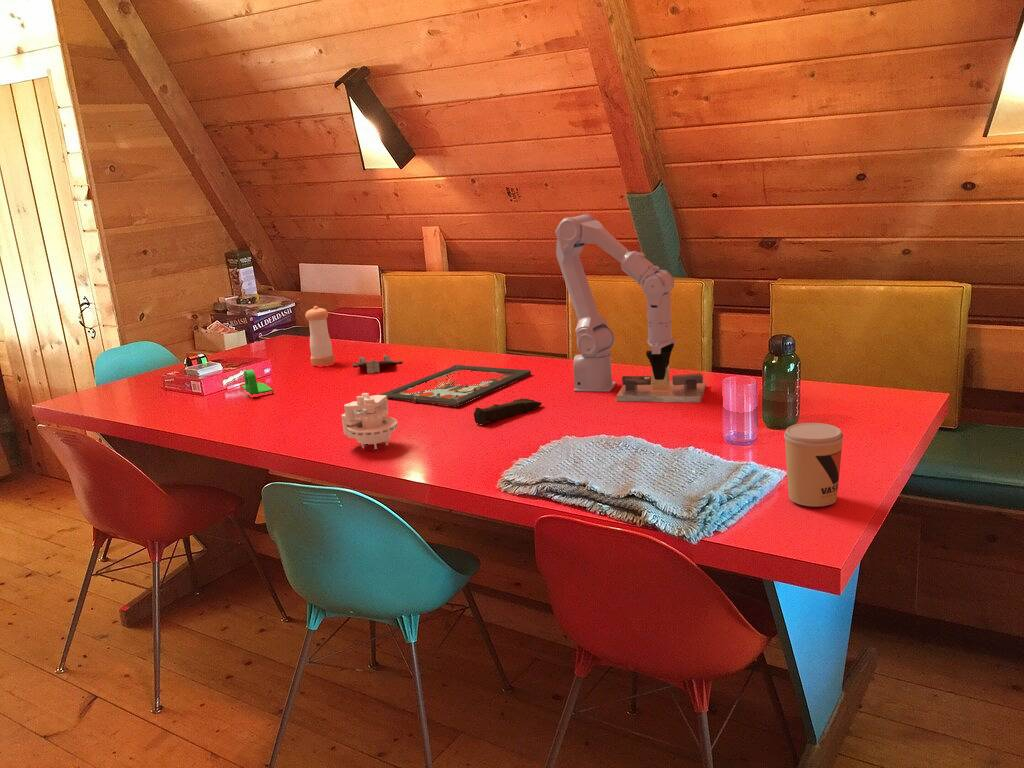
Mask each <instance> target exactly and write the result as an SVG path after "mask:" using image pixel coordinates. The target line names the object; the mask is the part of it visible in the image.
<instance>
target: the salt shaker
mask: <svg viewBox="0 0 1024 768" xmlns="http://www.w3.org/2000/svg"><path fill="white" fill-rule="evenodd" d="M304 316H305V319H306V320H307V321H308V325H309V334H310V335H309V347H310V348H309V349H310V355H311V356H310V363H311V364H312V365H329V364H332V363H334V362H335V363H336V361H335V360H336V359H335V354H334V353H333V346H332V341H331V336H330V334H329V330H328V329H329V327H328V321H327V319H328V317H329V312H328V310H327V309H326V308H322V307H319V306H318V305H314V306H313V308H311V309H308V310H306V312H305V315H304ZM312 365H311V366H312Z"/></svg>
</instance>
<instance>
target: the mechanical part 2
mask: <svg viewBox="0 0 1024 768" xmlns="http://www.w3.org/2000/svg"><path fill="white" fill-rule="evenodd" d="M355 398H356V401H355V400H353V401H351V402H349V403H345V404H344V405H343V408H344V413H342V414H341V421H342V427H343V428H342V429H343V434H344V436H347V437H348V438H349V439H355V440H356V442H357V443H359V444H361V449H362V448H365V445H366V444H368V445H374V450H375V449H377V450H378V447H377V446H378V445H377V444H383V443H385V446H386V445H388V446H389V440H390V439H391V438H392V436H391V435H392V434H391V433H392V432H394V431H396V430H397V429H398V427H399V425H398V420H397V419H396V418H394V417H391V416H388V415H389V414H390V413H389V412H390V411H389V405H388V404H389V403H388V398H387V395H379V394H375V395H370V393H369V392H362V393H361V395H357V396H356V397H355ZM382 442H383V443H382Z"/></svg>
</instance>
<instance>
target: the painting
mask: <svg viewBox="0 0 1024 768" xmlns="http://www.w3.org/2000/svg"><path fill="white" fill-rule="evenodd" d="M462 370H463V371H464V370H471V372H472V371H479V372H480V371H481V372H488V373H489V372H491V373H497V374H498V373H499V374H502V376H500V377H499V378H500V379H499V378H498V377H497V378H498V379H497V378H496V377H495V378H496V379H497V380H496V379H495V378H494V379H489V380H490V381H489V380H488V381H489V382H488V381H487V382H486V381H485V382H484V381H482V382H481V383H480V382H479V383H480V384H479V385H478V384H477V385H476V384H475V385H476V386H475V385H474V384H473V385H474V386H473V385H472V386H471V385H470V386H469V385H468V384H467V383H466V384H467V385H468V386H467V385H466V384H465V385H466V386H465V387H464V386H463V385H462V386H463V387H462V386H461V385H460V384H459V385H460V386H459V385H458V384H457V383H456V382H455V381H453V382H452V384H453V383H454V382H455V383H456V384H457V385H458V387H457V386H455V385H454V384H455V383H454V384H453V385H454V386H453V385H452V384H451V383H450V382H449V380H450V379H449V380H448V379H445V380H448V382H447V383H446V384H445V383H444V382H443V380H444V379H443V380H442V379H441V378H443V377H444V376H447V377H448V375H447V374H449V375H451V373H452V372H453V374H455V373H454V372H455V371H462ZM531 372H532V371H531V369H518V368H516V369H515V368H505V367H503V368H501V367H491V366H490V367H489V366H478V365H477V366H476V365H464V364H463V365H462V364H454V365H452V366H450V367H448V368H446V369H443V370H441V371H438V372H435V373H433V374H430V375H427V376H424V377H422V378H420V379H417V380H414V381H411V382H409V383H406V384H404V385H401V386H398V387H396V388H394V389H391V390H388V391H385V392H382V393H379V394H378V395H387V399H389V398H393V399H392V400H396V399H399V400H398V401H402V400H409V401H408V402H410V401H414V402H422V403H421V404H426V403H434V404H433V405H435V404H440V405H439V406H441V405H448V406H447V407H449V406H458V405H461V404H464V403H466V402H468V401H470V400H472V399H474V398H477V397H479V396H482V395H484V394H486V395H488V394H487V393H489V392H491V393H493V392H492V391H494V390H496V389H498V390H500V389H499V388H500V387H503V386H505V385H507V386H509V385H508V384H510V383H512V382H515V381H517V380H519V379H521V380H523V379H525V378H528V377H530V376H531V374H532V373H531ZM458 374H459V373H458ZM484 374H485V373H484ZM503 374H504V375H503ZM442 376H443V377H442ZM527 376H528V377H527ZM452 377H453V376H452ZM524 377H525V378H524ZM437 378H440V379H441V381H442V382H443V383H444V384H445V385H444V384H443V383H442V382H441V381H440V382H441V383H442V384H441V383H440V382H439V381H438V380H437V381H438V382H439V383H440V384H441V385H442V386H441V385H440V384H439V385H440V386H438V385H437V386H438V388H436V387H435V388H434V389H433V390H432V389H431V391H430V388H429V390H428V391H427V390H425V392H424V391H422V393H421V392H419V391H418V393H416V392H415V393H414V392H413V393H414V394H413V393H412V394H411V393H410V394H409V392H408V393H407V390H409V389H412V387H416V385H417V386H418V385H420V384H422V383H424V382H425V383H427V381H430V380H433V379H437ZM448 378H449V377H448ZM522 378H523V379H522ZM456 381H457V380H456ZM519 381H520V380H519ZM435 382H436V381H435ZM517 382H518V381H517ZM436 383H437V382H436ZM449 383H450V384H451V385H452V386H450V384H449ZM515 383H516V382H515ZM512 384H513V383H512ZM510 385H511V384H510ZM430 386H431V385H430ZM460 387H461V388H460ZM505 387H506V386H505ZM503 388H504V387H503ZM405 391H406V393H405ZM409 391H410V390H409ZM413 391H414V390H413ZM496 391H497V390H496ZM494 392H495V391H494ZM489 394H490V393H489ZM484 396H485V395H484ZM482 397H483V396H482ZM477 399H478V398H477ZM470 402H471V401H470ZM468 403H469V402H468ZM466 404H467V403H466ZM464 405H465V404H464ZM461 406H462V405H461Z"/></svg>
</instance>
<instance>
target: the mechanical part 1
mask: <svg viewBox="0 0 1024 768" xmlns="http://www.w3.org/2000/svg"><path fill="white" fill-rule="evenodd" d="M243 379H244V380H243V381H244V384H242V385H243V386H242V387H243V388H244V389H245V390H246V391H247V392H249V393H250V394H251V395H253V394H259V393H265V392H269V391H273V392H274V390H273V388H271V387H270V386H269V385H268V384H266V383H263V382H258V380H257V377H256V373H255V371H254V370H253V369H252V368H251V369H247V370H244V371H243Z"/></svg>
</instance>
